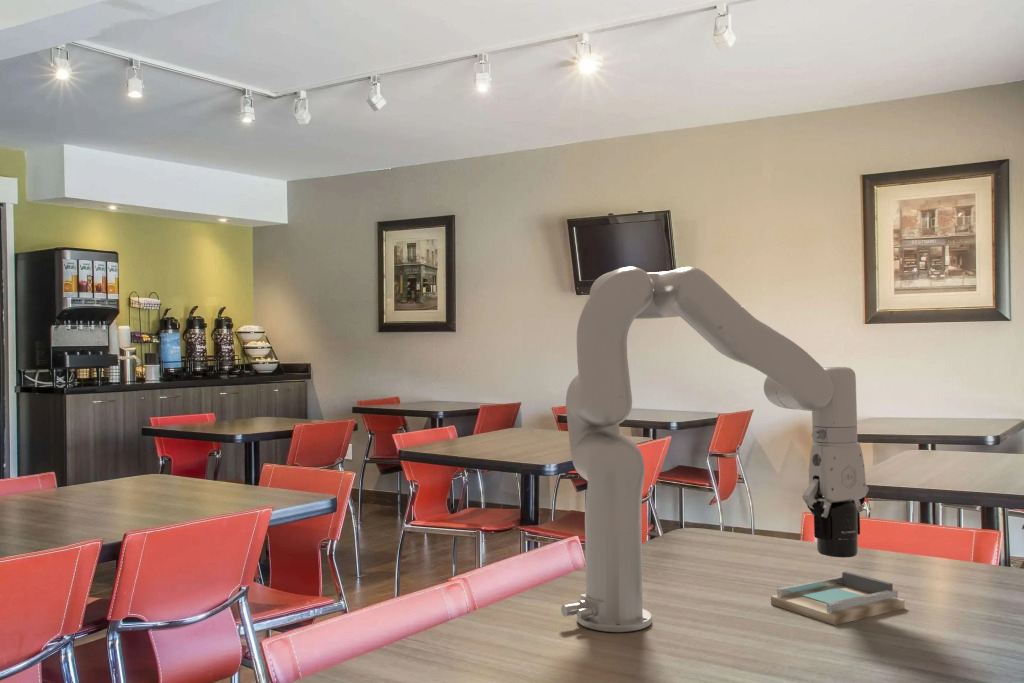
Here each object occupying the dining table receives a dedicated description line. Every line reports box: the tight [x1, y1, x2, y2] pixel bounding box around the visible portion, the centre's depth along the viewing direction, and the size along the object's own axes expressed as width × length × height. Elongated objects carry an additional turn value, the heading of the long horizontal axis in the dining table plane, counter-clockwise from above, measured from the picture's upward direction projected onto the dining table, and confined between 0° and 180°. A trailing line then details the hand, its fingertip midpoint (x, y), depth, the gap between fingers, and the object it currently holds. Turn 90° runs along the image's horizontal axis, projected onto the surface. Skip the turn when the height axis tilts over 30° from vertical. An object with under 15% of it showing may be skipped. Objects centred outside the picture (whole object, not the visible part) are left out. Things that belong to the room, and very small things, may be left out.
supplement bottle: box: [816, 501, 859, 558], centre depth 154 cm, size 7×7×12 cm
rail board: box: [770, 571, 906, 626], centre depth 154 cm, size 18×14×4 cm
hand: (837, 535), depth 154 cm, fingers closed on supplement bottle, 6 cm apart
